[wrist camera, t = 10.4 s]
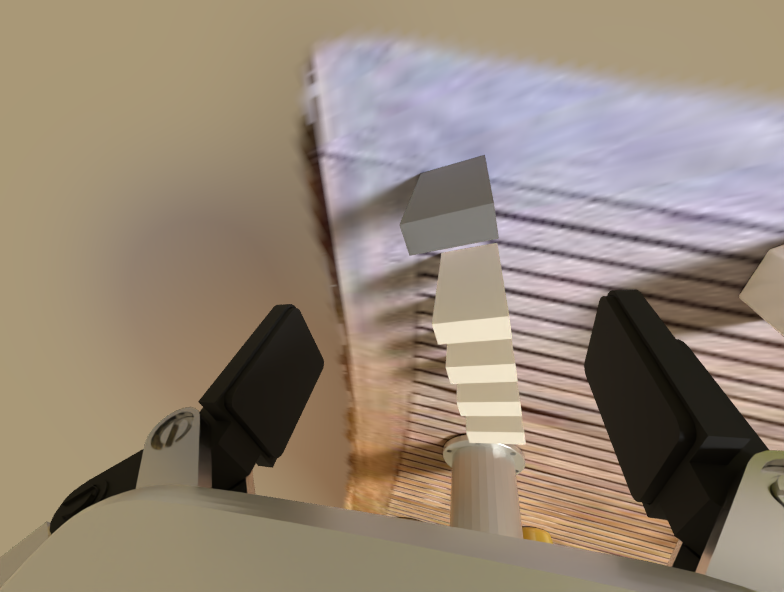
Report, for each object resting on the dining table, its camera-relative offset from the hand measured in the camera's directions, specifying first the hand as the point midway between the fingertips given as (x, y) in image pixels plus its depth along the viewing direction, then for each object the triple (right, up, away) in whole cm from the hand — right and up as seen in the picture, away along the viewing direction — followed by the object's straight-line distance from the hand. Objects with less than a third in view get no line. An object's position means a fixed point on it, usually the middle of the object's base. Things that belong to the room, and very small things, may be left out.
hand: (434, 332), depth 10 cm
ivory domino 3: (+9, -2, +23) cm, 25 cm away
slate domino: (+4, +11, +14) cm, 18 cm away
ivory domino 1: (+6, +5, +18) cm, 20 cm away
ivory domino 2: (+7, +1, +21) cm, 22 cm away
